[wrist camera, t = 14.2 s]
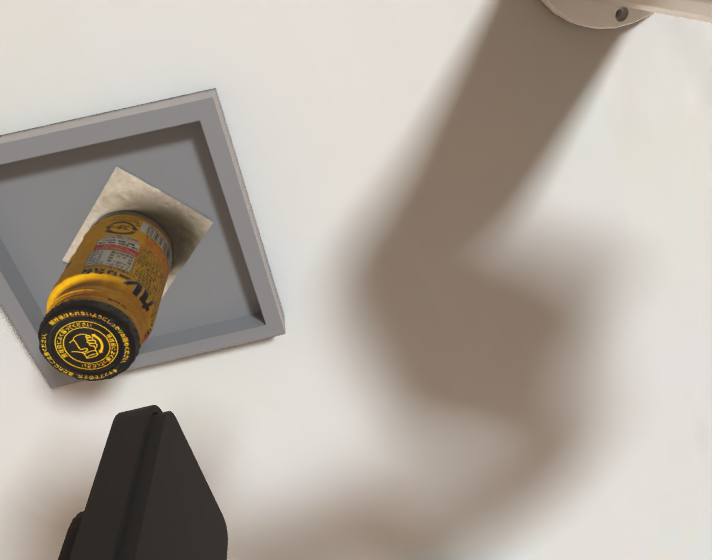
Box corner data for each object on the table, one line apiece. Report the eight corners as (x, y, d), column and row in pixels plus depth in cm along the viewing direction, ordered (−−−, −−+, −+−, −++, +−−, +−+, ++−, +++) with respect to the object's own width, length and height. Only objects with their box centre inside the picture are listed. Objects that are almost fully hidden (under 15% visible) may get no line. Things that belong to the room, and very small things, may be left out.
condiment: (62, 259, 42) (-3, 363, 32) (117, 165, 39) (65, 245, 29) (156, 304, 45) (125, 413, 34) (213, 220, 42) (198, 311, 32)
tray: (-66, 149, 37) (-86, 162, 35) (215, 88, 38) (212, 97, 36) (60, 367, 47) (51, 388, 45) (284, 316, 47) (285, 333, 45)
